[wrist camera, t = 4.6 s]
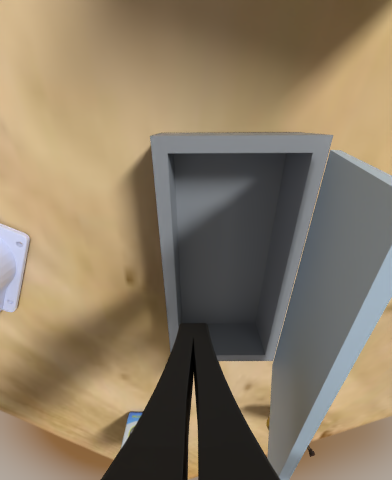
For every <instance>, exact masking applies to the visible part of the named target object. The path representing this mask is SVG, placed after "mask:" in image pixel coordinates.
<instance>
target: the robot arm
mask: <svg viewBox="0 0 392 480" xmlns="http://www.w3.org/2000/svg"><path fill="white" fill-rule="evenodd" d="M20 242H21V243H22V244H23V245H22V244H21V243H20ZM29 242H30V238H29V236H28V235H27V234H25V233H23V232H21V231H18V230H16V229H13V228H11V227H8V226H6V225H3V224H1V223H0V311H1V310H5V311H8V312H14V311H15V310H16V309H17V307H18V301H19V296H20V290H21V285H22V280H23V274H24V269H25V263H26V258H27V253H28V247H29ZM193 375H194V381H195V395H196V408H197V422H198V480H280V478H279V477H278V475H277V473H276V472H275V470H274V469H273V467H272V465H271V464H270V462H269V461H268V459H267V457H266V456H265V454H264V452H263V450H262V449H261V447H260V445H259V443H258V442H257V440H256V438H255V437H254V435H253V433H252V431H251V430H250V428H249V426H248V424H247V422H246V420H245V419H244V417H243V415H242V413H241V411H240V409H239V407H238V405H237V403H236V401H235V399H234V397H233V395H232V393H231V390H230V388H229V386H228V384H227V382H226V379H225V377H224V375H223V372H222V370H221V367H220V364H219V362H218V359H217V357H216V354H215V351H214V348H213V345H212V341H211V338H210V333H209V329H208V324H206V323H181V324H180V325H179V329H178V333H177V337H176V340H175V343H174V346H173V349H172V351H171V354H170V356H169V359H168V362H167V364H166V366H165V369H164V371H163V373H162V375H161V378H160V380H159V382H158V384H157V386H156V388H155V390H154V392H153V394H152V396H151V398H150V400H149V402H148V404H147V406H146V408H145V409H144V411H143V413H142V415H141V417H140V418H139V420H138V422H137V423H136V425H135V427H134V429H133V430H132V432H131V434H130V435H129V437H128V439H127V440H126V442H125V444H124V445H123V447H122V448H121V450H120V451H119V453H118V454H117V456H116V457H115V459H114V461H113V462H112V464H111V465H110V467H109V468H108V470H107V471H106V473H105V474H104V476H103V477H102V479H101V480H188V435H189V421H190V409H191V398H192V387H193Z"/></svg>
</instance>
